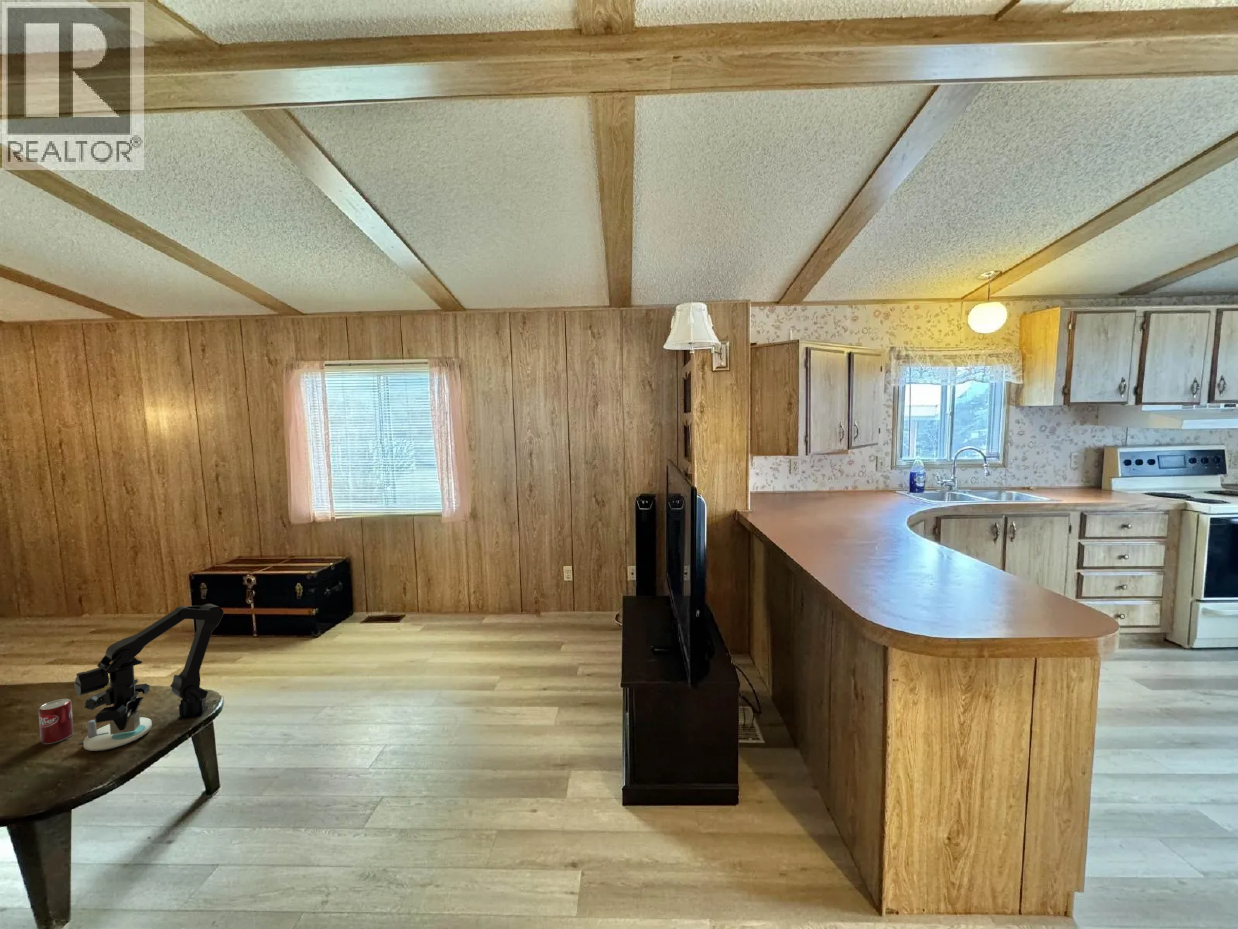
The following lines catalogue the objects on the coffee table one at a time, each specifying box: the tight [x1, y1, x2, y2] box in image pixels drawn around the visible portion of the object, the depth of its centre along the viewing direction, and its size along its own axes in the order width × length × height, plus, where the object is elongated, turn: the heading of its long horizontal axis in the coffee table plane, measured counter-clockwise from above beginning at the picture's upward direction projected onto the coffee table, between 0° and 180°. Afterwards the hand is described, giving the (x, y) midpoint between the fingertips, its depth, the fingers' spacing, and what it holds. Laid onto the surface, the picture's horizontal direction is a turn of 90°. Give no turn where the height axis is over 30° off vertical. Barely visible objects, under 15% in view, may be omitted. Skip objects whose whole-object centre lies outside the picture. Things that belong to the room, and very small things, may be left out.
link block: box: [109, 710, 140, 735], centre depth 164 cm, size 6×4×5 cm, turn 111°
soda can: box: [38, 698, 74, 745], centre depth 165 cm, size 7×7×12 cm
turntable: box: [82, 716, 153, 752], centre depth 165 cm, size 16×16×6 cm
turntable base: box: [78, 737, 141, 752], centre depth 165 cm, size 17×13×1 cm
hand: (125, 726), depth 164 cm, fingers closed on link block, 3 cm apart
